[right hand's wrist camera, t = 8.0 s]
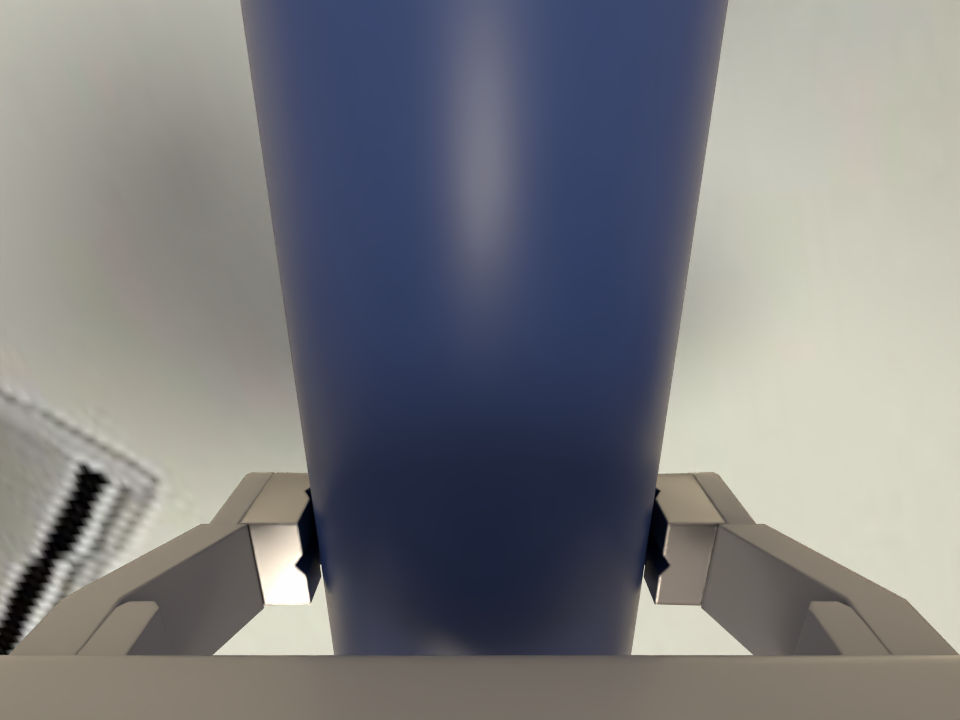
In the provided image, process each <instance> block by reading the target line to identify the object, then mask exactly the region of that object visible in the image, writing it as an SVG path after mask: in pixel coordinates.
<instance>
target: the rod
mask: <svg viewBox="0 0 960 720" xmlns="http://www.w3.org/2000/svg"><path fill="white" fill-rule="evenodd" d="M240 1H241V8H242V15H243V22H244V29H245V36H246V43H247V50H248V57H249V64H250V71H251V78H252V85H253V92H254V99H255V106H256V112H257V119H258V126H259V133H260V140H261V147H262V154H263V161H264V168H265V175H266V182H267V189H268V196H269V203H270V210H271V217H272V224H273V231H274V238H275V245H276V252H277V259H278V266H279V273H280V280H281V287H282V294H283V301H284V308H285V315H286V321H287V328H288V335H289V342H290V349H291V356H292V363H293V370H294V377H295V384H296V391H297V398H298V405H299V412H300V419H301V426H302V433H303V440H304V447H305V454H306V461H307V468H308V475H309V482H310V489H311V496H312V503H313V510H314V517H315V524H316V530H317V537H318V544H319V551H320V558H321V565H322V572H323V579H324V586H325V593H326V600H327V607H328V614H329V621H330V628H331V635H332V642H333V649H334V655H631V651H632V644H633V637H634V631H635V624H636V617H637V611H638V604H639V597H640V590H641V584H642V577H643V570H644V563H645V557H646V550H647V543H648V537H649V530H650V523H651V516H652V510H653V503H654V496H655V489H656V483H657V476H658V469H659V462H660V456H661V449H662V442H663V436H664V429H665V422H666V415H667V409H668V402H669V395H670V388H671V382H672V375H673V368H674V362H675V355H676V348H677V341H678V335H679V328H680V321H681V314H682V308H683V301H684V294H685V288H686V281H687V274H688V267H689V261H690V254H691V247H692V240H693V234H694V227H695V220H696V214H697V207H698V200H699V193H700V187H701V180H702V173H703V166H704V160H705V153H706V146H707V140H708V133H709V126H710V119H711V113H712V106H713V99H714V92H715V86H716V79H717V72H718V65H719V59H720V52H721V45H722V39H723V32H724V25H725V18H726V12H727V5H728V0H240Z"/></svg>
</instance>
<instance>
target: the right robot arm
mask: <svg viewBox="0 0 960 720" xmlns="http://www.w3.org/2000/svg"><path fill="white" fill-rule="evenodd" d="M320 564H321V558H320V551H319V544H318V537H317V530H316V524H315V517H314V510H313V503H312V496H311V489H310V482H309V475H308V473H274V472H254V473H249V474H247V475H246V476H245V477H244V478H243V479H242V481H241V482H240V483H239V485H238V486H237V488H236V489H235V490H234V492H233V493H232V494H231V496H230V497H229V498H228V500H227V501H226V502H225V504H224V505H223V506H222V508H221V509H220V510H219V512H218V513H217V514H216V516H215V517H214V518H213V520H212V521H211V522H210V524H200V525H199V526H197V527H195V528H193V529H191V530H189V531H187V532H186V533H184V534H182V535H180V536H178V537H176V538H174V539H172V540H171V541H169V542H167V543H165V544H163V545H161V546H159V547H158V548H156V549H154V550H152V551H150V552H148V553H146V554H145V555H143V556H141V557H139V558H137V559H135V560H133V561H132V562H130V563H128V564H126V565H124V566H122V567H120V568H119V569H117V570H115V571H113V572H111V573H109V574H107V575H106V576H104V577H102V578H100V579H98V580H96V581H94V582H93V583H91V584H89V585H87V586H85V587H83V588H81V589H80V590H78V591H76V592H74V593H72V594H70V595H68V596H67V597H65V598H63V599H61V600H60V601H59V603H58V604H57V605H56V606H55V607H54V608H53V609H52V610H51V611H50V612H49V613H48V614H47V615H46V616H45V617H44V618H43V619H42V620H41V621H40V622H39V624H38V625H37V626H36V627H35V628H34V629H33V630H32V631H31V632H30V633H29V634H28V635H27V636H26V637H25V638H24V639H23V640H22V641H21V642H20V643H19V645H18V646H17V647H16V648H15V649H14V650H13V651H12V652H11V653H10V654H9V655H0V720H960V655H959V654H958V653H957V652H956V651H955V650H954V649H953V648H952V647H951V646H950V645H949V644H948V643H947V642H946V640H945V639H944V638H943V637H942V636H941V635H940V634H939V633H938V632H937V631H936V630H935V629H934V628H933V627H932V626H931V625H930V624H929V623H928V622H927V621H926V620H925V619H924V618H923V617H922V616H921V615H920V614H919V612H918V611H917V610H916V609H915V608H914V607H913V606H912V605H911V604H910V603H909V602H908V601H907V600H906V599H904V598H902V597H900V596H898V595H896V594H894V593H893V592H891V591H889V590H887V589H885V588H883V587H881V586H880V585H878V584H876V583H874V582H872V581H870V580H868V579H866V578H865V577H863V576H861V575H859V574H857V573H855V572H853V571H851V570H850V569H848V568H846V567H844V566H842V565H840V564H838V563H836V562H835V561H833V560H831V559H829V558H827V557H825V556H823V555H821V554H820V553H818V552H816V551H814V550H812V549H810V548H808V547H807V546H805V545H803V544H801V543H799V542H797V541H795V540H793V539H792V538H790V537H788V536H786V535H784V534H782V533H780V532H778V531H777V530H775V529H773V528H771V527H769V526H767V525H765V524H756V523H755V521H754V520H753V519H752V518H751V516H750V515H749V514H748V512H747V511H746V510H745V508H744V507H743V506H742V505H741V503H740V502H739V501H738V499H737V498H736V497H735V495H734V494H733V493H732V491H731V490H730V489H729V488H728V486H727V485H726V484H725V482H724V481H723V480H722V478H721V477H720V476H719V475H718V474H716V473H714V472H701V473H680V474H658V476H657V483H656V489H655V496H654V503H653V510H652V516H651V523H650V530H649V537H648V543H647V550H646V557H645V563H644V565H645V571H644V578H645V581H646V583H647V586H648V588H649V591H650V593H651V596H652V598H653V601H654V603H655V604H665V605H701V606H702V607H701V608H702V609H703V610H704V611H706V612H707V613H708V614H709V615H710V616H711V617H712V618H713V619H714V620H715V621H717V622H718V623H719V624H720V625H721V626H722V627H723V628H724V629H725V630H726V631H728V632H729V633H730V634H731V635H732V636H733V637H734V638H735V639H736V640H737V641H739V642H740V643H741V644H742V645H743V646H744V647H745V648H746V649H747V650H748V651H750V652H751V653H752V654H753V655H213V654H214V653H215V652H216V651H217V650H219V649H220V648H221V647H222V646H223V645H224V644H225V643H226V642H227V641H228V640H229V639H231V638H232V637H233V636H234V635H235V634H236V633H237V632H238V631H239V630H240V629H242V628H243V627H244V626H245V625H246V624H247V623H248V622H249V621H250V620H251V619H252V618H254V617H255V616H256V615H257V614H258V613H259V612H260V611H261V610H262V609H263V608H264V605H299V604H311V602H312V599H313V596H314V594H315V591H316V589H317V586H318V583H319V581H320V578H321V571H320Z"/></svg>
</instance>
